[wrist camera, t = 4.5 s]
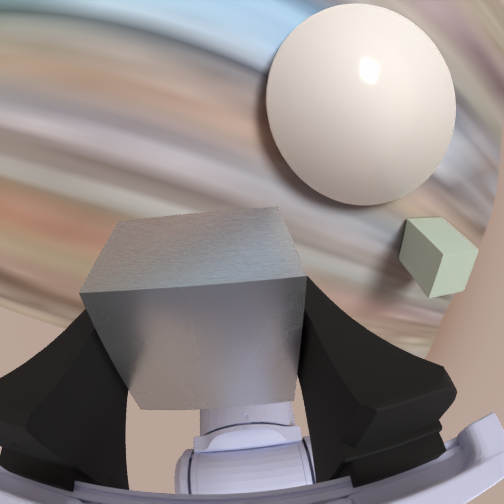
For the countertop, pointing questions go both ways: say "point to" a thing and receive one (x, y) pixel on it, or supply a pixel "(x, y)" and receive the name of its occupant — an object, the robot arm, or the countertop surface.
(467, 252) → the block
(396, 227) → the countertop surface
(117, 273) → the grey square block
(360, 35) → the cream round disc
